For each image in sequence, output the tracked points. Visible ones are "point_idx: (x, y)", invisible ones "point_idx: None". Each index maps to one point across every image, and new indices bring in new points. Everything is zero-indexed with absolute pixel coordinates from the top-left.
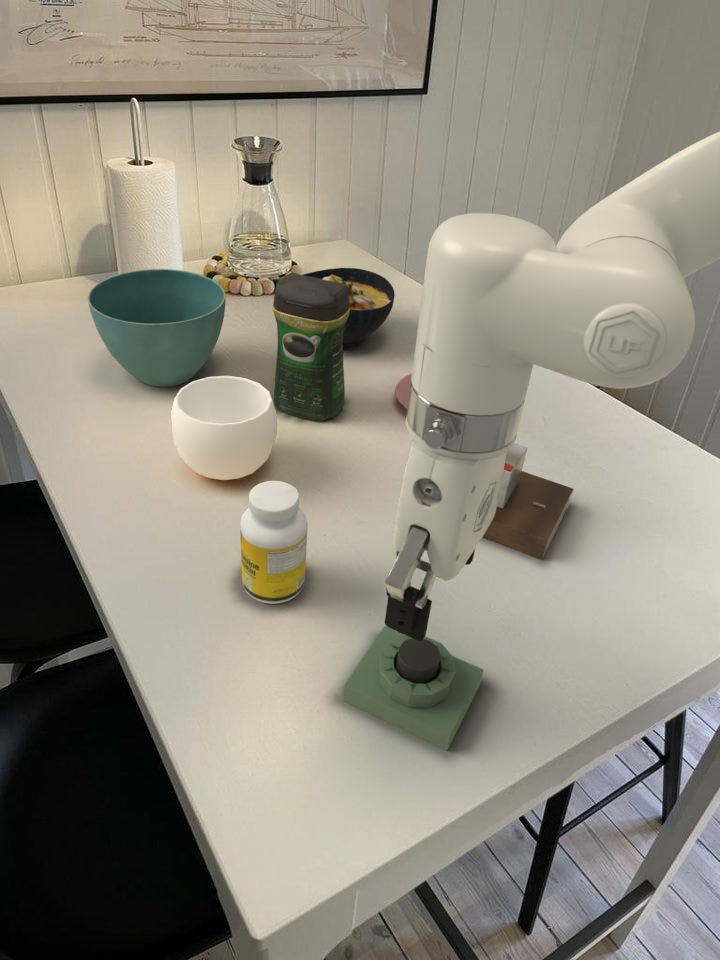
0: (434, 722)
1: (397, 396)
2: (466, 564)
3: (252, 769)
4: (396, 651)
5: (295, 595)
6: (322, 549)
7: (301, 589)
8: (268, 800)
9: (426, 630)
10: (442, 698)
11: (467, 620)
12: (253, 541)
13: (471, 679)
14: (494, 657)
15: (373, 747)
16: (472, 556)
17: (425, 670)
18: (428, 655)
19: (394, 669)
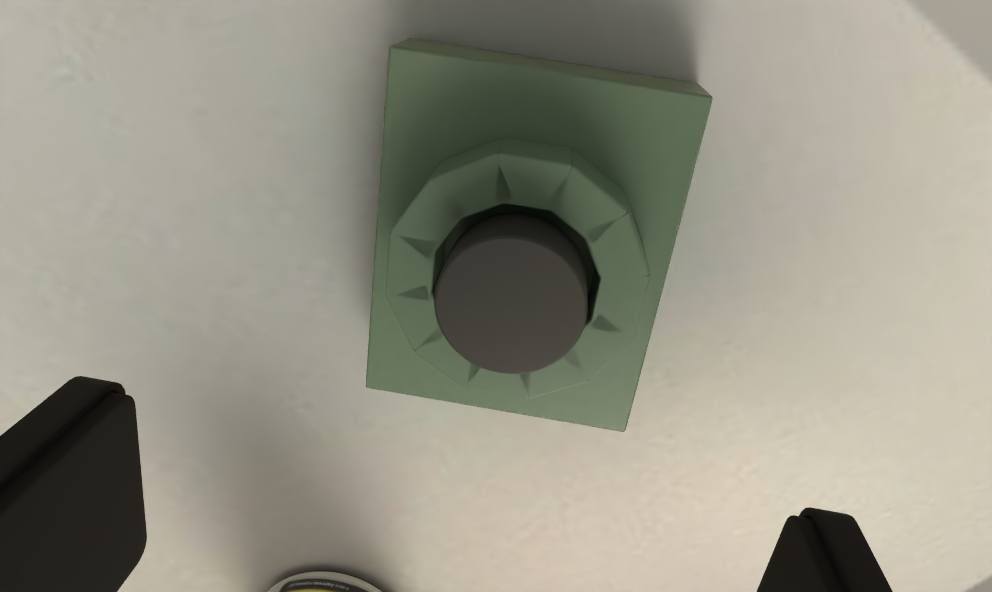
0: (673, 160)
1: None
2: (132, 399)
3: (874, 513)
4: None
5: (354, 582)
6: (163, 560)
7: (328, 577)
8: (950, 462)
9: (830, 543)
10: (584, 161)
11: (171, 138)
12: None
13: (452, 80)
14: (271, 13)
15: (740, 284)
16: (67, 410)
17: (575, 271)
18: (505, 278)
19: None
